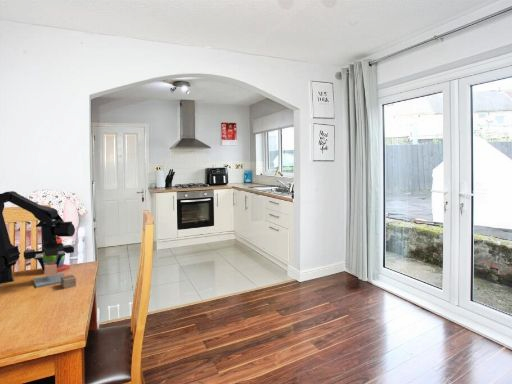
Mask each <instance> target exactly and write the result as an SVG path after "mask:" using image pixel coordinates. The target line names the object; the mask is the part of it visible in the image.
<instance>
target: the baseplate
mask: <svg viewBox="0 0 512 384" xmlns="http://www.w3.org/2000/svg"><path fill="white" fill-rule="evenodd" d="M61 276H66V275H65V273H64V272H60V273H57V274H51V275H46V276H45V275H44V276H38V277H34V278H32V280H33V283H34V285H35V288H37V289H38V288H42V287H48V286H53V285H58V284H61Z"/></svg>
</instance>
